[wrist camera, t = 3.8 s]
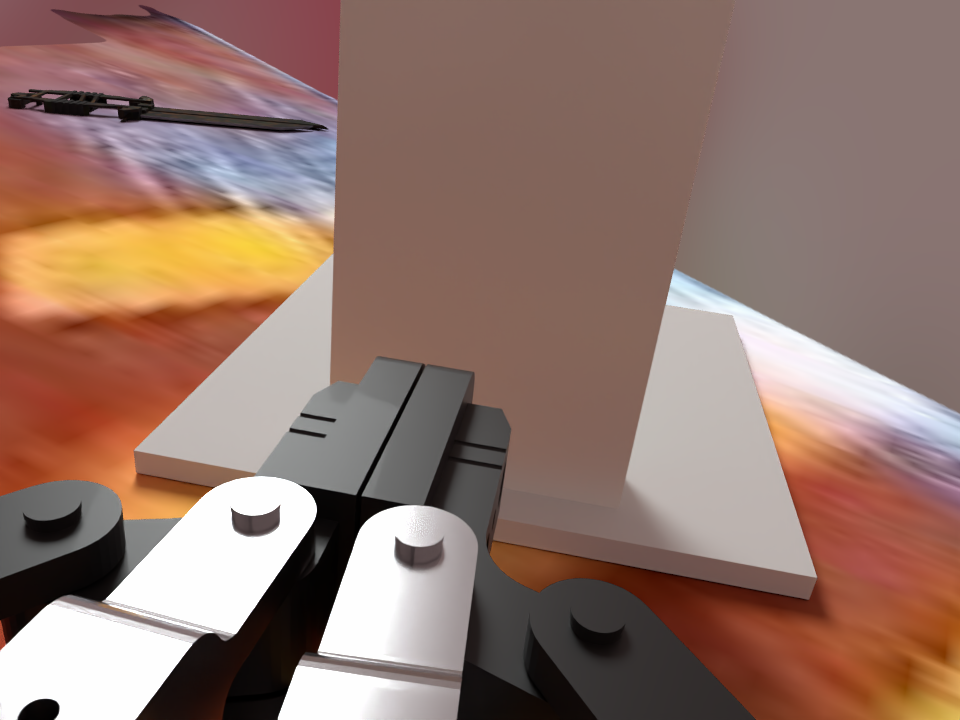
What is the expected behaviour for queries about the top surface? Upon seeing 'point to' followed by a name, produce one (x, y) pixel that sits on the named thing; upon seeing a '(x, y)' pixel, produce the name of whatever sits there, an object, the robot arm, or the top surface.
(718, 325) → the mat
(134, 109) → the knife
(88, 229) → the top surface
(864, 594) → the top surface
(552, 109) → the tile
